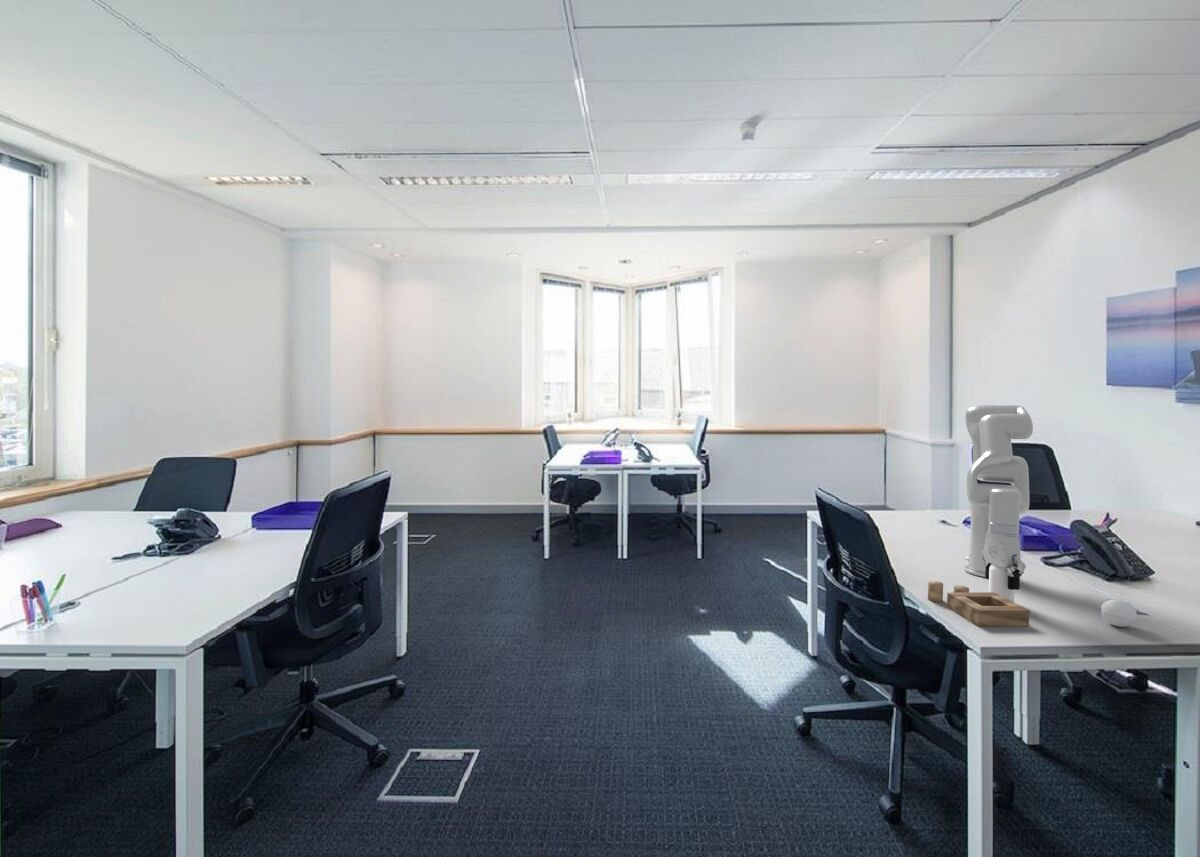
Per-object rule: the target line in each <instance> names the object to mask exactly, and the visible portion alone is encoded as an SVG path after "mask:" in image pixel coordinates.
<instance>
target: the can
mask: <svg viewBox="0 0 1200 857" xmlns="http://www.w3.org/2000/svg"><path fill="white" fill-rule="evenodd" d="M1012 571H1013V572H1014V571H1015V570H1014V569H1012ZM1008 576H1010V575H1009V573H1008V571H1007V568H1000V567H998V566H996V565H994V564H991V565H990V568H989V579H988V592H995V593H996V594H998V595H1000V596H1002V597H1004V598H1006V599H1008V600H1010V601H1012V602H1014V603H1015V594H1016V593H1015V592H1016V591H1015V590H1010V589H1008Z"/></svg>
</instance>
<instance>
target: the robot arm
mask: <svg viewBox="0 0 1200 857" xmlns="http://www.w3.org/2000/svg"><path fill="white" fill-rule="evenodd" d="M965 425H966V428H967V432H968V434H969V436H970V439H971V442H972V464H971V466H970V468H969V469H968V471H967V475H966V493H967V494H966V496H967V499H968V505H969V510H970V534H969V535H970V537H969V539H970V540H969V541H970V542H969V556H965V560H966V561H967V562H968V564H966V565H965V566H964V568H963V569H964V571H965V572H966V573H968V574H971V575H974V576H977V577H983V578H985V579H986V580H989V568H990V565H991V564H994V565H996V566H998V567H1000V568H1007V571H1008V573H1009V575H1010V576H1008V589H1010V590H1020V587H1021V586H1020V584H1021V583H1020V582H1021V577H1022V575H1023V574H1024V571H1025V570H1026V567H1027V566H1026V564H1025V563H1024V561H1022V560H1021V559H1022V558H1021V553H1022V552H1021V543H1020V535H1019V534H1020V515H1024V514H1026V513H1027V512H1028V511H1029V508H1030V475H1029V473H1030V472H1029V465H1028V463H1027V460H1026V459H1025V458H1023V457H1022V456H1019V455H1018V456H1017V455H1013V454H1014V453H1013V445H1012V440H1028V439H1030V437H1032V434H1033V431H1034V425H1033V421H1032V418H1031V416H1030V414H1029V412H1028V410H1026V408H1025V407H1024V406H1021V405H1009V404H1008V405H1007V404H1006V405H1003V404H1002V405H1001V404H1000V405H996V404H995V405H989V404H987V405H986V404H985V405H984V404H983V405H975V406H970V407H969V408H967V410H966V411H965ZM978 480H979V481H982V482H991V483H978ZM994 482H995V483H994ZM993 483H994V484H993ZM997 483H1009V484H1010V485H1009V484H997ZM1012 569H1014V570H1015V571H1014V572H1013V571H1012Z"/></svg>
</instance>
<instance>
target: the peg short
mask: <svg viewBox="0 0 1200 857" xmlns="http://www.w3.org/2000/svg"><path fill="white" fill-rule="evenodd" d="M953 593H970V587H968V586H965V585H959V584H958V585H953Z"/></svg>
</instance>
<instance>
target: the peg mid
mask: <svg viewBox="0 0 1200 857" xmlns="http://www.w3.org/2000/svg"><path fill="white" fill-rule="evenodd" d="M927 582H928V583H927V584H928V586H927V600H928V601H930V602H933V603H942V602H944V599H943V598H944V583H943V582H941V581H937V580H929V581H927Z"/></svg>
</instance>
